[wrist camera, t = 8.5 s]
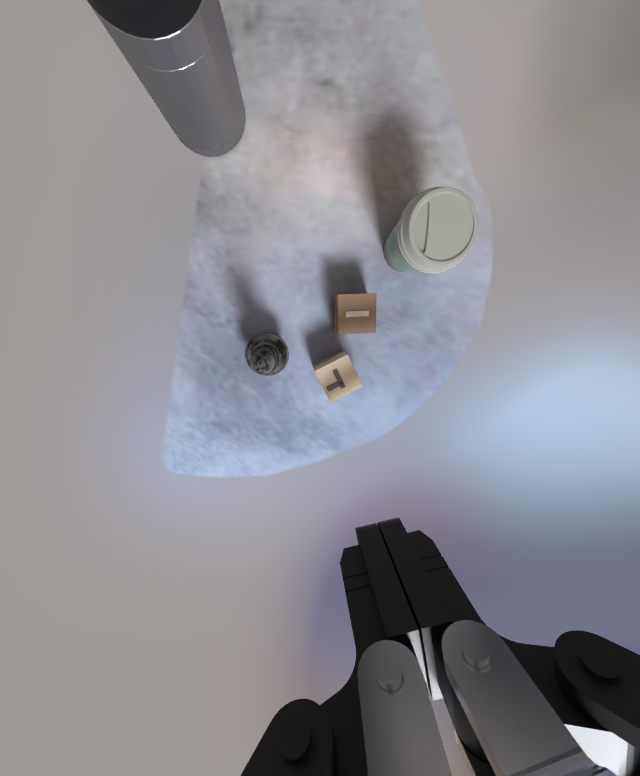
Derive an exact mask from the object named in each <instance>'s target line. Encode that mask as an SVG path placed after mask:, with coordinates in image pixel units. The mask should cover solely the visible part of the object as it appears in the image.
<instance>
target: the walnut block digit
mask: <svg viewBox="0 0 640 776" xmlns="http://www.w3.org/2000/svg"><path fill="white" fill-rule="evenodd" d="M333 314H334V332H336V333H338V334H351V333H376V293H370V294H338V295H335V296H333Z"/></svg>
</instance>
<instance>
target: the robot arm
mask: <svg viewBox="0 0 640 776" xmlns="http://www.w3.org/2000/svg"><path fill="white" fill-rule="evenodd" d="M87 1H88V2H89V4H90V5H91V7H92V9H93V10H94V11H95V13H96V15H97V16H98V17H99V19H100V21H101V22H102V23H103V25H104V27H105V28H106V30H107V31H108V33H109V34H110V36H111V37H112V39H113V40H114V41H115V43H116V45H117V46H118V48H119V49H120V50H121V52H122V53H123V55H124V56H125V58H126V60H127V61H128V63H129V64H130V66H131V67H132V69H133V70H134V72H135V73H136V75H137V76H138V78H139V79H140V81H141V82H142V83H143V85H144V87H145V88H146V90H147V91H148V93H149V94H150V96H151V97H152V99H153V100H154V102H155V103H156V105H157V107H158V108H159V109H160V111H161V112H162V114H163V116H164V117H165V119H166V120H167V122H168V123H169V125H170V126H171V128H172V129H173V131H174V132H175V134H176V135H177V137H178V138H179V139H180V141H181V142H182V143H183V144H184V145H185V146H186V147H187V148H189V149H190V150H192V151H193V152H195V153H198V154H200V155H203V156H210V157H211V156H219V155H223V154H225V153H227V152H229V151H230V150H232V149H233V148H234V147H235V146H236V145H237V143H238V142H239V140H240V138H241V137H242V134H243V131H244V127H245V108H244V104H243V99H242V95H241V91H240V86H239V81H238V77H237V73H236V69H235V65H234V60H233V56H232V52H231V48H230V43H229V39H228V35H227V31H226V27H225V22H224V18H223V14H222V10H221V6H220V2H219V0H87ZM377 524H378V526H377ZM377 524H376V523H374V524H370V525H366V526H362V527H357V528H355V529H356V534H357V539H358V544H359V545H357V546H352V547H349V548H344V550H343V554H342V558H341V561H340V565H341V570H342V576H343V581H344V586H345V592H346V597H347V602H348V608H349V613H350V619H351V624H352V629H353V634H354V640H355V645H356V663H355V667H354V670H353V673H352V675H351V677H350V678H349V680H348V682H347V683H346V684H345V685H344V687H343V688H342V689H341V690H340V691H338V692H337V693H336V694H335V695H333V696H332V697H331V698H330V699H328V700H327V701H325V702H324V703H323V704H321V705H318V704H317V703H316V702H314V701H312V700H309V699H298V700H294V701H292V702H289V703H288V704H286V705H285V706H284V707H283V708H281V709H280V710H279V711H278V713H277V714H276V715H275V716H274V718H273V719H272V721H271V723H270V724H269V726H268V728H267V730H266V732H265V733H264V735H263V737H262V739H261V740H260V742H259V744H258V746H257V748H256V749H255V751H254V753H253V755H252V757H251V758H250V760H249V762H248V763H247V765H246V767H245V769H244V771H243V773H242V774H241V776H452V774H451V771H450V768H449V764H448V760H447V757H446V753H445V750H444V746H443V743H442V740H441V736H440V733H439V729H438V726H437V722H436V719H435V715H434V712H433V709H432V705H431V702H430V696H429V691H430V693H431V696H432V699H433V701H434V700H438V699H441V698H443V699H444V701H445V704H446V706H447V709H448V711H449V714H450V717H451V719H452V722H453V729H454V735H455V739H456V742H457V745H458V747H459V749H460V752H461V754H462V756H463V758H464V761H465V763H466V765H467V768H468V770H469V772H470V774H471V776H640V655H638V654H636V653H634V652H632V651H630V650H628V649H626V648H624V647H622V646H619V645H618V644H615V643H613V642H611V641H609V640H607V639H605V638H603V637H601V636H598V635H596V634H593V633H590V632H585V631H569V632H566V633H563V634H562V635H560V636H559V637H558V639H557V640H556V643H555V647H547V646H538V645H529V644H522V643H517V642H514V641H510V640H508V639H506V638H504V637H502V636H500V635H498V634H497V633H496V632H495V631H493V630H492V629H491V628H489V627H488V626H487V625H486V624H485V623H484V622H483V621H482V620H481V618H480V617H479V616H478V614H477V612H476V611H475V609H474V608H473V606H472V604H471V603H470V601H469V599H468V598H467V596H466V594H465V593H464V591H463V589H462V588H461V586H460V585H459V583H458V581H457V580H456V578H455V577H454V575H453V573H452V571H451V570H450V569H449V568H448V565H447V563H446V562H445V560H444V558H443V557H442V556H441V553H440V552H439V550H438V549H437V547H436V545H435V543H434V542H433V540H431V539H430V538H429V537H428V536H426V535H425V534H424V533H422V532H421V531H420V530H418V531H414V532H410V533H407V532H406V530H405V528H404V526H403V524H402V522H401V520H400V519H399V518H394V519H390V520H386V521H382V522H378V523H377ZM428 688H429V689H428Z"/></svg>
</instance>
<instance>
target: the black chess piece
mask: <svg viewBox="0 0 640 776" xmlns="http://www.w3.org/2000/svg"><path fill="white" fill-rule="evenodd" d="M288 357H289V352H288V348H287V346H286V344H285V342H284V341H283V340H282V339H281V338H280V337H279V336H277V335H275V334H272V333H261V334H258V335H256V336H254V337H253V338H252V339H251V340H250V341H249V342H248V344H247V346H246V349H245V358H246V362H247V363H248V365H249V367H250V368H251V369H252V370H253V371H254V372H256V373H258V374H260V375H264V376H270V375H275V374H277V373H279V372H280V371H281V370H283V369H284V367H285V366H286V364H287V361H288Z"/></svg>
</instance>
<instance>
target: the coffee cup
mask: <svg viewBox="0 0 640 776" xmlns="http://www.w3.org/2000/svg"><path fill="white" fill-rule="evenodd" d="M477 231H478V216H477V212H476V209H475V206H474V204H473V202H472V201H471V200H470V198H469V197H468V196H467V195H466V194H464V193H463V192H462V191H460V190H458V189H455V188H450V187H434V188H430V189H428V190H425V191H423V192H421V193H419V194H418V195H416V196H415V197H414V198H413V199H412V200H411V201H410V202H409V203H408V204H407V206H406V207H405V209H404V210H403V212H402V214H401V217H400V220H399V221H398V223H397V224H396V226H395V227H394V229H393V230H392V232H391V233H390V234H389V236H388V238H387V239H386V241H385V244H384V257H385V260H386V262H387V263H388V265H389V266H390V267H391V268H393V269H394V270H396V271H400V272H413V271H421V272H424V273H430V274H435V273H441V272H444V271H447V270H449V269H451V268H452V267H454V266H455V265H457V264H458V263H459V262H460V261H461V260H462V259H463V258H464V257H465V256H466V255H467V253H468V251H469V250H470V249H471V247H472V245H473V243H474V241H475V239H476V235H477Z"/></svg>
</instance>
